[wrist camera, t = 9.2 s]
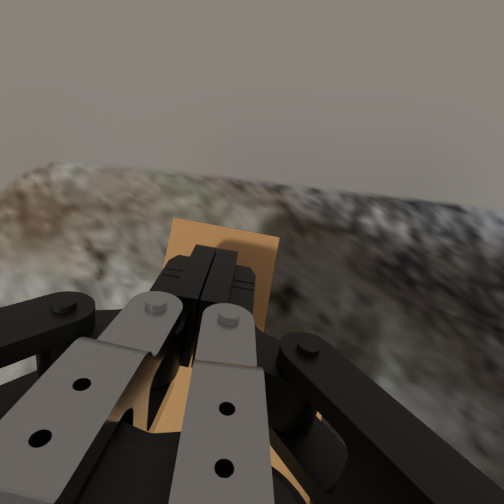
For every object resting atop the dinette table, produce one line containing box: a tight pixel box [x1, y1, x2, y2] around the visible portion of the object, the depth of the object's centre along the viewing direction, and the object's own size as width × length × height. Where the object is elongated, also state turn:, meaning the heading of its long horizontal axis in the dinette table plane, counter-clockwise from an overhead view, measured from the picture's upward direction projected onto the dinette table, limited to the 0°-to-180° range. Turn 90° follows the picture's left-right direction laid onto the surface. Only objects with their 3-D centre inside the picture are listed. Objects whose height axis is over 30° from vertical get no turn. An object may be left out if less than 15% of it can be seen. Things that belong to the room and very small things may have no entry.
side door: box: [154, 218, 322, 504], centre depth 13 cm, size 9×1×16 cm
